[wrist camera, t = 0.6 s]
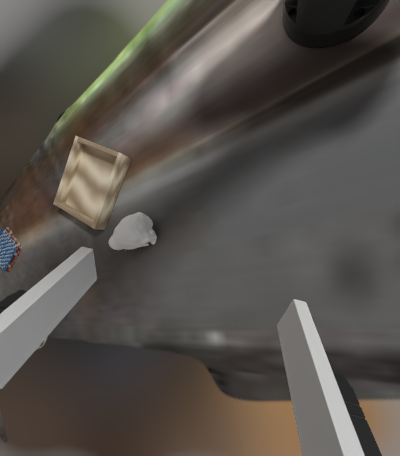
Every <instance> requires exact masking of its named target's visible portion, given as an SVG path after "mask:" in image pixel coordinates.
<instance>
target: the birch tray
mask: <svg viewBox="0 0 400 456" xmlns="http://www.w3.org/2000/svg"><path fill="white" fill-rule="evenodd" d="M130 161H131V158H129V157H127V156H125V155H123V154H121V153H119V152H116V151H114V150H111V149H108V148H106V147H103V146H101V145H98V144H96V143H93V142H90V141H88V140H85V139H83V138H80V137H77V136H76V137H75V140H74V143H73V146H72V149H71V152H70V155H69V158H68V161H67V164H66V167H65V170H64V173H63V176H62V179H61V182H60V185H59V188H58V192H57V195H56V198H55V201H54V204H55V205H56V206H58V207H59V208H61V209H63V210H64V211H66V212H67V213H69V214H71V215H72V216H74V217H76V218H77V219H79V220H80V221H82V222H84V223H85V224H87V225H88V226H90V227H92V228H93V229H99V230H105V229H106V227H107V224H108V221H109V218H110V216H111V213H112V210H113V208H114V205H115V202H116V199H117V197H118V194H119V191H120V189H121V186H122V183H123V180H124V178H125V175H126V172H127V169H128V167H129V164H130Z"/></svg>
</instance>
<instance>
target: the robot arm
mask: <svg viewBox="0 0 400 456" xmlns="http://www.w3.org/2000/svg"><path fill="white" fill-rule="evenodd" d="M388 2H389V0H284V2H283V24H284V28H285V31H286V33H287V34H288V36H289V37H290V38H291V39H292V40H293V41H295V42H296V43H298V44H300V45H303V46H307V47H327V46H332V45H335V44H339V43H341V42H344V41H346V40H348V39H350V38H352V37H354V36H356V35H357V34H359V33H360V32H362V31H363V30H364V29H366V28H367V27H368V26H369V25H370V24H372V23H373V22H374V21H375V20H376V19H377V17H378V16H379V15H380V14H381V13H382V11H383V10H384V9H385V7H386V6H387V4H388ZM96 280H97V274H96V267H95V260H94V253H93V249H90V248H86V247H81V248H80V249H78V250H77V251H76V252H75V253H74V254H72V255H71V256H70V257H69V258H67V259H66V260H65V261H64V262H63V263H61V264H60V265H59V266H58V267H57V268H55V269H54V270H53V271H52V272H50V273H49V274H48V275H47V276H46V277H44V278H43V279H42V280H41V281H40V282H38V283H37V284H36V285H35V286H33V287H32V288H31V289H30V290H29V291H23V290H20V291H18V292H16V293H14V294H12V295H10V296H8V297H6V298H5V299H4V300H2V301H1V302H0V389H2V388H3V387H4V386H5V385H6V383H7V382H8V381H9V380H10V379H11V377H12V376H13V375H14V374H15V373H16V372H17V371H18V370H19V369H20V367H21V366H22V365H23V364H24V363H25V361H26V360H27V359H28V358H29V357H30V356H31V355H32V354H33V352H34V351H35V350H36V349H37V348H38V347H39V346H40V344H41V343H42V342H43V341H44V340H45V339H46V337H47V336H48V335H49V334H50V333H51V332H52V331H53V329H54V328H55V327H56V326H57V325H58V324H59V323H60V321H61V320H62V319H63V318H64V317H65V316H66V315H67V313H68V312H69V311H70V310H71V309H72V308H73V306H74V305H75V304H76V303H77V302H78V301H79V300H80V298H81V297H82V296H83V295H84V294H85V293H86V292H87V290H88V289H89V288H90V287H91V286H92V285H93V283H94V282H95V281H96ZM277 329H278V334H279V339H280V344H281V349H282V354H283V359H284V364H285V369H286V374H287V379H288V384H289V389H290V394H291V399H292V404H293V409H294V414H295V419H296V424H297V429H298V435H299V440H300V444H301V450H302V455H303V456H382V455H381V453H380V450H379V448H378V446H377V444H376V441H375V439H374V436H373V434H372V432H371V430H370V427H369V425H368V423H367V421H366V420H365V416H364V413H363V411H362V409H361V407H360V406H359V402H358V400H357V397H356V395H355V393H354V390H353V388H352V387H351V386H350V384H349V383H348V381H347V380H346V379H345V377H344V376H343V375H341V374H337V373H334V372H332V369H331V366H330V364H329V361H328V359H327V356H326V353H325V351H324V348H323V345H322V343H321V340H320V338H319V335H318V332H317V330H316V327H315V325H314V322H313V319H312V317H311V314H310V312H309V309H308V306H307V304H306V302H303V301H299V300H295V299H293V301H292V302H291V304H290V305H289V307H288V309H287V310H286V312H285V313H284V315H283V316H282V318H281V320H280V321H279V323H278V324H277Z"/></svg>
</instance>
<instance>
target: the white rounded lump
mask: <svg viewBox="0 0 400 456" xmlns="http://www.w3.org/2000/svg"><path fill="white" fill-rule="evenodd" d="M152 226H153V222H152V220H151V219H150V218H149V217H148V216H147V215H145V214H143V213H141V212H137V213H135V214H132V215H129V216H126V217H125V218H123V219H122V220H121V222H120V223H119V224H118V225H117V226H116V228H115V230H114V233H113V235H112V236H111V238H110V239H109V246H110V247H111V248H112V249H114V250H122V249H136V248H138V247H143V246H149V244H148V243H147V242H151V244H153V245H154V244H155V242H156V239H157V236H156V234H155V231H154V230H153V229H152Z"/></svg>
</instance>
